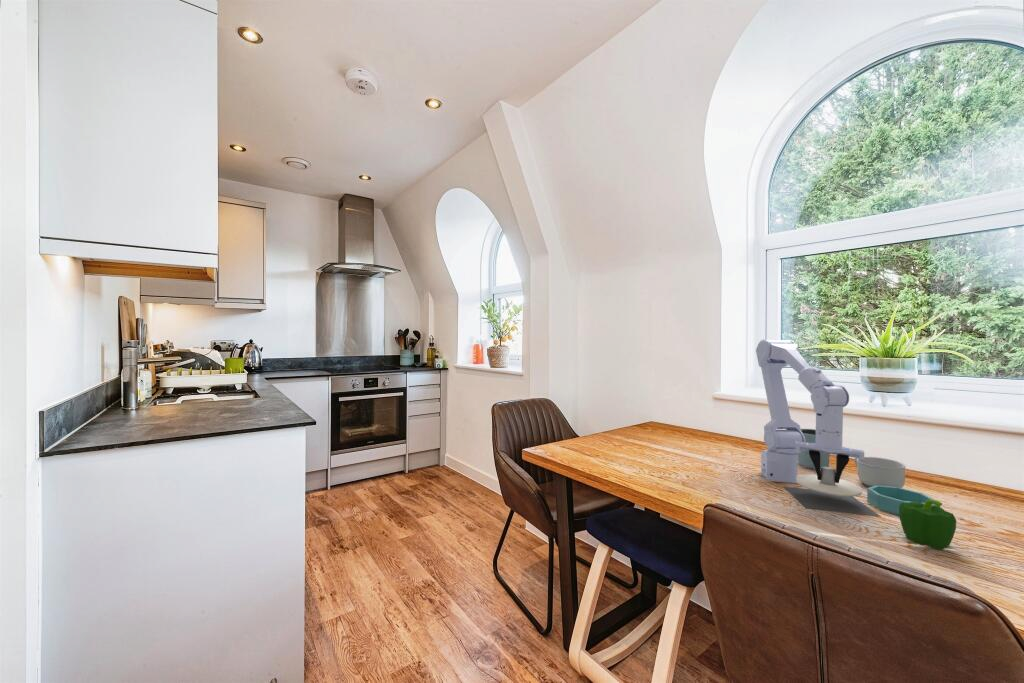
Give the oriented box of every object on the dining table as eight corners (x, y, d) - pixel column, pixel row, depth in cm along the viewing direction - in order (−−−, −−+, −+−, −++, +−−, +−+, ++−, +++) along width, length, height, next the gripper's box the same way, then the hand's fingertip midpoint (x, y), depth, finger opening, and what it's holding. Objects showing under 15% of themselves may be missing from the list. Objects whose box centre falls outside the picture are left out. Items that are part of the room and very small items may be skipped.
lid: (808, 492, 105) (809, 474, 105) (788, 475, 118) (788, 458, 118) (874, 499, 101) (874, 479, 101) (845, 480, 114) (845, 463, 114)
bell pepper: (890, 531, 93) (891, 488, 93) (935, 537, 90) (936, 492, 90) (914, 550, 85) (915, 502, 85) (965, 556, 82) (966, 507, 82)
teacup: (915, 496, 114) (915, 468, 114) (870, 493, 116) (871, 465, 116) (881, 479, 128) (881, 454, 128) (842, 477, 130) (842, 452, 130)
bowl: (886, 516, 101) (886, 500, 101) (860, 498, 112) (860, 483, 112) (947, 522, 98) (947, 506, 98) (913, 503, 109) (913, 488, 109)
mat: (805, 510, 104) (805, 508, 104) (783, 488, 119) (783, 486, 119) (881, 518, 100) (881, 516, 100) (847, 494, 115) (847, 492, 115)
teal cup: (829, 464, 143) (830, 430, 143) (833, 472, 134) (834, 436, 134) (794, 460, 148) (795, 427, 148) (796, 467, 140) (796, 432, 140)
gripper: (795, 429, 110) (794, 478, 111) (866, 437, 102) (864, 491, 102) (796, 424, 116) (795, 472, 116) (863, 432, 108) (862, 483, 108)
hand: (827, 480), depth 110 cm, fingers closed on lid, 3 cm apart
